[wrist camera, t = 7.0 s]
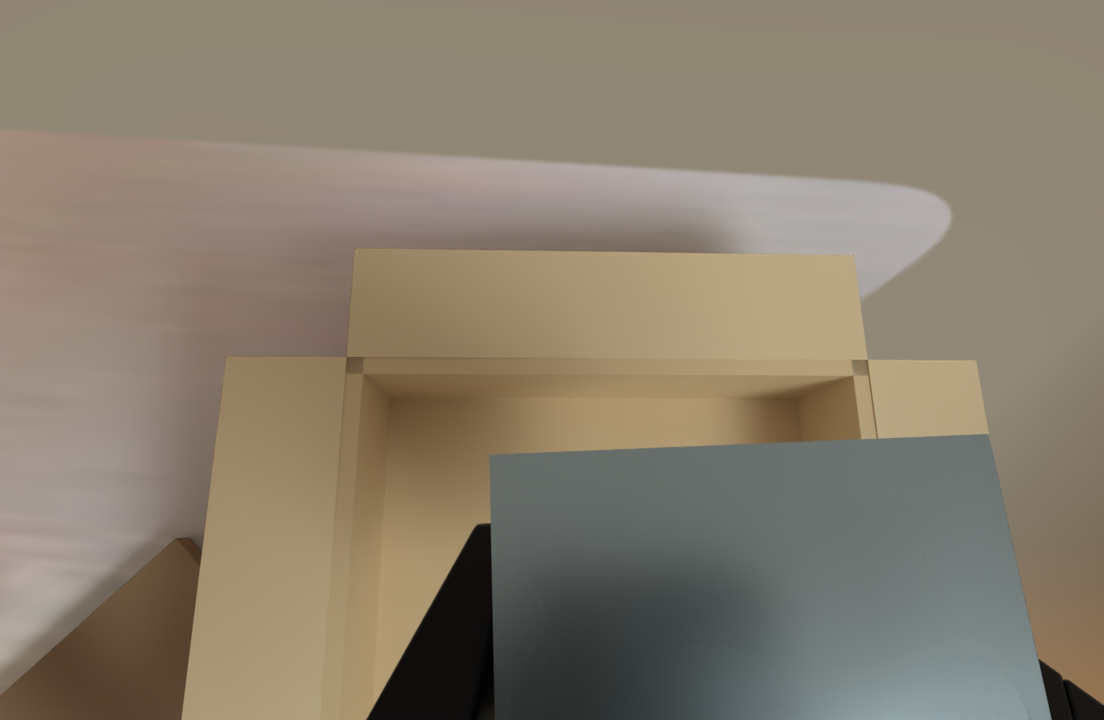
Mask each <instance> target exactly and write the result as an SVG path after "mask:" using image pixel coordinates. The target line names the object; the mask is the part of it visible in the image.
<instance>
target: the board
mask: <svg viewBox="0 0 1104 720" xmlns="http://www.w3.org/2000/svg"><path fill="white" fill-rule="evenodd" d="M201 556H202V552H201V551H200V550H199V549H198V548H197V546H196V545H195V544H194V543H193V542H192V541H191V540H190V538H189V537H186V538H176V539H175V540H173V541H172V542H171V543H170V544H169V545H168V546H167V547H166V548H165V549H163V550H162V551H161V552H160V553H159V554H158V555H157V556H156V557H155V558H153V559H152V560H151V561H150V562H149V563H148V564H147V565H146V566H145V567H143V568H142V569H141V570H140V571H139V572H138V573H137V574H136V575H134V576H133V577H132V578H131V579H130V580H129V581H128V582H127V583H126V584H124V585H123V586H122V587H121V588H120V589H119V590H118V591H117V592H116V593H114V594H113V595H112V596H111V597H110V598H109V599H108V600H107V601H106V602H104V603H103V604H102V605H101V606H100V607H99V608H98V609H97V610H96V611H94V612H93V613H92V614H91V615H90V616H89V617H88V618H87V619H86V620H84V621H83V622H82V623H81V624H80V625H79V626H78V627H77V628H75V629H74V630H73V631H72V632H71V633H70V634H69V635H68V636H67V637H65V638H64V639H63V640H62V641H61V642H60V643H59V644H58V645H57V646H55V647H54V648H53V649H52V650H51V651H50V652H49V653H48V654H47V655H45V656H44V657H43V658H42V659H41V660H40V661H39V662H38V663H37V664H35V665H34V666H33V667H32V668H31V669H30V670H29V671H28V672H27V673H25V674H24V675H23V676H22V677H21V678H20V679H19V680H18V681H16V682H15V683H14V684H13V685H12V686H11V687H10V688H9V689H8V690H6V691H5V692H4V693H3V694H2V695H1V696H0V720H181V719H182V711H183V703H184V695H185V686H186V678H187V670H188V662H189V654H190V646H191V638H192V629H193V621H194V613H195V605H196V597H197V589H198V581H199V573H200V564H201Z"/></svg>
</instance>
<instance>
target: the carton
mask: <svg viewBox="0 0 1104 720" xmlns="http://www.w3.org/2000/svg"><path fill="white" fill-rule="evenodd" d="M975 434H989V431H988V425H987V420H986V414H985V409H984V403H983V397H982V391H981V386H980V380H979V374H978V369H977V363H976V360H868V358H867V350H866V342H865V335H864V327H863V320H862V313H861V305H860V297H859V290H858V282H857V275H856V267H855V260H854V255H802V254H732V253H662V252H593V251H523V250H454V249H384V248H355V249H354V262H353V276H352V289H351V302H350V316H349V329H348V342H347V356H346V357H277V356H226V361H225V369H224V377H223V385H222V394H221V402H220V410H219V418H218V426H217V434H216V442H215V451H214V459H213V467H212V475H211V483H210V491H209V499H208V507H207V516H206V524H205V532H204V540H203V548H202V556H201V564H200V573H199V581H198V589H197V597H196V605H195V613H194V621H193V629H192V638H191V646H190V654H189V662H188V670H187V678H186V686H185V695H184V703H183V711H182V719H181V720H366V719H367V717H368V715H369V713H370V712H371V710H372V708H373V706H374V704H375V703H376V701H377V699H378V697H379V696H380V694H381V692H382V690H383V688H384V687H385V685H386V683H387V681H388V680H389V678H390V676H391V674H392V672H393V671H394V669H395V667H396V665H397V664H398V662H399V660H400V658H401V656H402V655H403V653H404V651H405V649H406V648H407V646H408V644H409V642H410V640H411V639H412V637H413V635H414V633H415V632H416V630H417V628H418V626H419V624H420V623H421V621H422V619H423V617H424V616H425V614H426V612H427V610H428V608H429V607H430V605H431V603H432V601H433V600H434V598H435V596H436V594H437V592H438V591H439V589H440V587H441V585H442V584H443V582H444V580H445V578H446V577H447V575H448V573H449V571H450V569H451V568H452V566H453V564H454V562H455V561H456V559H457V557H458V555H459V553H460V552H461V550H462V548H463V546H464V545H465V543H466V541H467V539H468V537H469V536H470V534H471V532H472V530H473V529H474V527H475V526H476V525H477V524H480V523H491V508H490V461H489V455H493V454H517V453H541V452H566V451H590V450H614V449H638V448H662V447H686V446H710V445H734V444H758V443H782V442H806V441H830V440H854V439H878V438H902V437H926V436H951V435H975ZM989 439H990V437H989Z"/></svg>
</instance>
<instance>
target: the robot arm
mask: <svg viewBox="0 0 1104 720" xmlns="http://www.w3.org/2000/svg"><path fill="white" fill-rule="evenodd" d="M1038 661H1039V665H1040V670H1041V674H1042V679H1043V683H1044V688H1045V692H1046V697H1047V701H1048V706H1049V710H1050V715H1051V719H1052V720H1104V705H1103V704H1101V703H1100V702H1099V701H1097V700H1096V699H1094V698H1093V697H1092V696H1090V695H1089V694H1087V693H1086V692H1085V691H1083V690H1082V689H1080V688H1079V687H1078V686H1076V685H1075V684H1073V683H1072V682H1071V681H1069V680H1066V679H1064V680H1063V678H1062V676H1061V675H1060V674H1059V673H1058V672H1056V671H1055V670H1054V669H1052V668H1051V667H1049V666H1048V665H1047V664H1045V663H1044V662H1042V661H1041V660H1040V659H1038ZM366 720H495V697H494V650H493V603H492V556H491V523H480V524H477V525H476V526H475V527H474V529H473V530H472V532H471V534H470V536H469V537H468V539H467V541H466V543H465V545H464V546H463V548H462V550H461V552H460V553H459V555H458V557H457V559H456V561H455V562H454V564H453V566H452V568H451V569H450V571H449V573H448V575H447V577H446V578H445V580H444V582H443V584H442V585H441V587H440V589H439V591H438V592H437V594H436V596H435V598H434V600H433V601H432V603H431V605H430V607H429V608H428V610H427V612H426V614H425V616H424V617H423V619H422V621H421V623H420V624H419V626H418V628H417V630H416V632H415V633H414V635H413V637H412V639H411V640H410V642H409V644H408V646H407V648H406V649H405V651H404V653H403V655H402V656H401V658H400V660H399V662H398V664H397V665H396V667H395V669H394V671H393V672H392V674H391V676H390V678H389V680H388V681H387V683H386V685H385V687H384V688H383V690H382V692H381V694H380V696H379V697H378V699H377V701H376V703H375V704H374V706H373V708H372V710H371V712H370V713H369V715H368V717H367V719H366Z"/></svg>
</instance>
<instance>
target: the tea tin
mask: <svg viewBox="0 0 1104 720" xmlns="http://www.w3.org/2000/svg"><path fill="white" fill-rule="evenodd" d="M489 461H490V508H491V556H492V603H493V650H494V697H495V720H1052V719H1051V715H1050V710H1049V706H1048V701H1047V697H1046V692H1045V688H1044V683H1043V679H1042V674H1041V670H1040V665H1039V661H1038V656H1037V652H1036V647H1035V642H1034V638H1033V634H1032V629H1031V624H1030V620H1029V615H1028V611H1027V606H1026V602H1025V597H1024V593H1023V588H1022V584H1021V579H1020V575H1019V570H1018V566H1017V561H1016V556H1015V552H1014V548H1013V543H1012V538H1011V534H1010V529H1009V525H1008V520H1007V516H1006V512H1005V507H1004V502H1003V498H1002V493H1001V488H1000V484H999V479H998V475H997V470H996V466H995V461H994V457H993V452H992V448H991V443H990V439H989V434H975V435H951V436H926V437H902V438H878V439H854V440H830V441H806V442H782V443H758V444H734V445H710V446H686V447H662V448H638V449H614V450H590V451H566V452H541V453H517V454H493V455H489Z"/></svg>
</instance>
